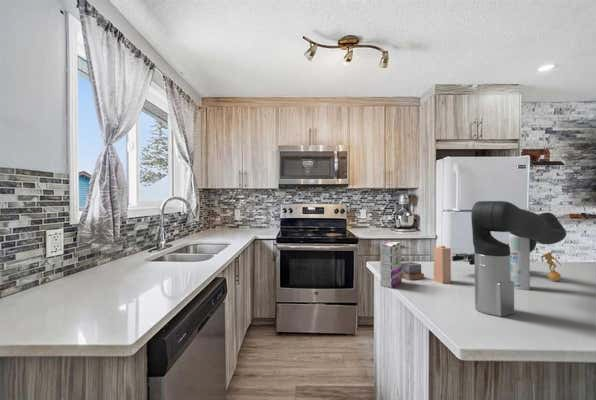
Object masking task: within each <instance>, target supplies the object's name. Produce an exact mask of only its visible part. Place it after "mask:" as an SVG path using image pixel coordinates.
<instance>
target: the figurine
mask: <svg viewBox="0 0 596 400" xmlns="http://www.w3.org/2000/svg"><path fill="white" fill-rule="evenodd" d="M552 255H553V253H552V251H549V252H548V253H545V254H543V255H541V256H540V257H541V261H542V263H544V262H545V260H544V258H545V259H546V263H547V264H548V265H549V267H548V268H549V270H550V272H549V273H548V274H547V275H548V279H549V280H551V281H553V282H558V281H560V280H561V279H562V276H561V274H560V273H559V272H557V271H556V270H555V269H556V267H557V264H559V265H560V267H561V266H562V264H561V262H559V260H557V258H555V257H554V256H552ZM552 260H554V261H555V262H556V263H557V264H556V263H555V262H554V261H552Z"/></svg>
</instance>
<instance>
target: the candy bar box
mask: <svg viewBox="0 0 596 400" xmlns="http://www.w3.org/2000/svg"><path fill="white" fill-rule="evenodd" d="M401 245H402V242H396V241H389V242H386V243H382V244H380V245H379V261H380V262H379V263H380V287H383V288H388V289H389V288H390V289H393V288H395V287H396V286H398V285H400V284H401V283H402V279H403V278H402V277H401V263H402V249H401V248H402V246H401Z"/></svg>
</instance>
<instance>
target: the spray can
mask: <svg viewBox="0 0 596 400" xmlns="http://www.w3.org/2000/svg"><path fill="white" fill-rule="evenodd" d="M508 244H509V247H510V279H511V281H513V282H514V290H522V291H523V290H525V291H528V290H530V289H531V279H530V278H531V269H530V268H531V264H530V263H531V259H530V257H531V256H530V255H531V252H530V239H528V238H522V237H518V236H515V235H513V234H509V235H508Z"/></svg>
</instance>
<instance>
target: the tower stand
mask: <svg viewBox="0 0 596 400" xmlns="http://www.w3.org/2000/svg"><path fill="white" fill-rule="evenodd" d="M401 277H402V279H405V280H408V281H417V280H423V278H424V279H425V274H424V273H422V264H421V263H417V262H413V261H405V262H402V261H401Z"/></svg>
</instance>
